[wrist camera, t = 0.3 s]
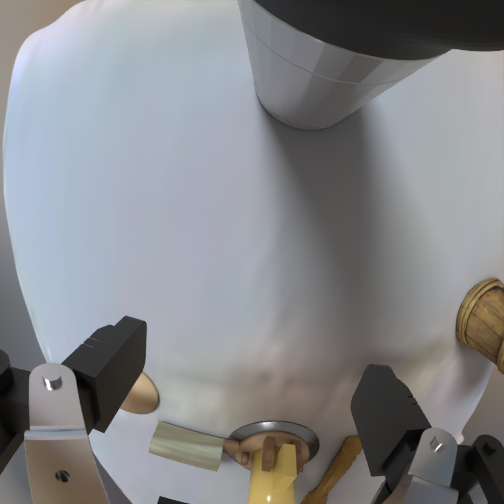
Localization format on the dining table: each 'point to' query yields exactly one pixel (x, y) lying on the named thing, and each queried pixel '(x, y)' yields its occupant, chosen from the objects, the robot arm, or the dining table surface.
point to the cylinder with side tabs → (274, 477)
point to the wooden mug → (484, 320)
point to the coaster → (141, 396)
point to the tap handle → (335, 470)
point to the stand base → (277, 426)
